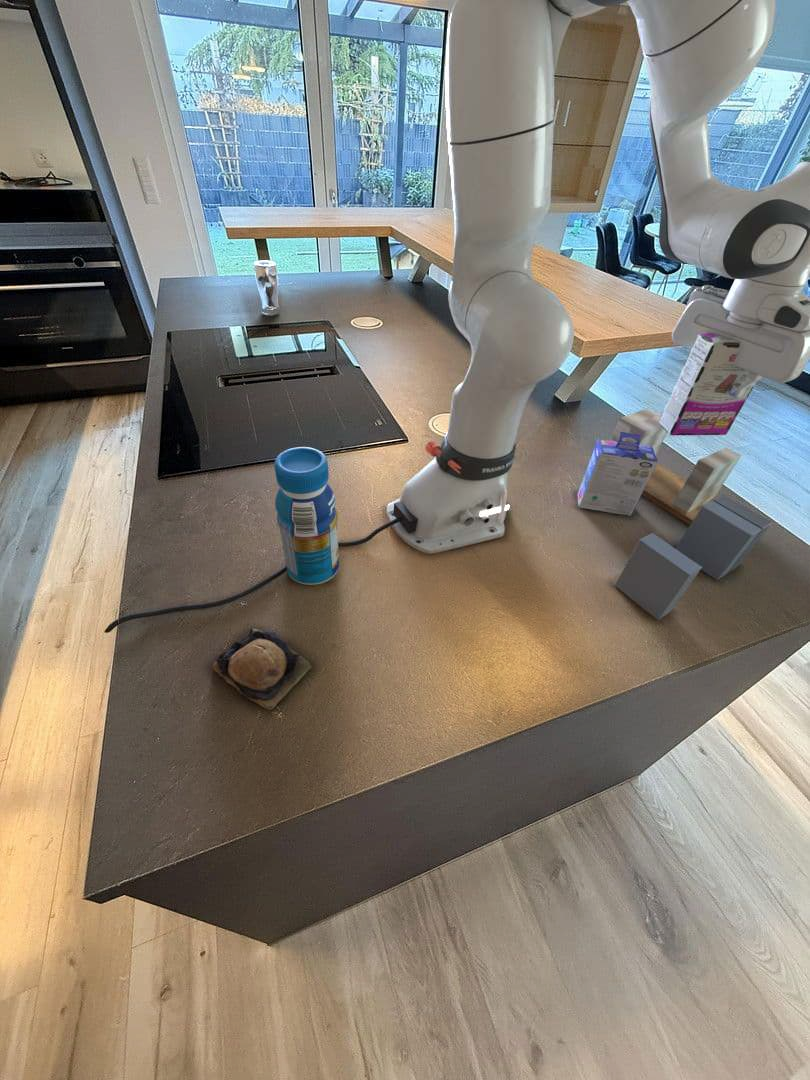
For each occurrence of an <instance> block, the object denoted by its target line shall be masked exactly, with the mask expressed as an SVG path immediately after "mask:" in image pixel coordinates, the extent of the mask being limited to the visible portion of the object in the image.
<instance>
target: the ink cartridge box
mask: <svg viewBox="0 0 810 1080" xmlns="http://www.w3.org/2000/svg"><path fill="white" fill-rule="evenodd" d="M627 437H631V438H633V439H635V440H636V443H630V442H624V441H622V438H627ZM640 440H641V435H638V434H631V433H625V432H620V435H619V438H618V441H617V442H613V441H611V440H606V439H605V440H604V439H597V440H596V442H595V446H594V448H593V451H592V455H591V457H590V460H589V462H588V466H587V468H586V471H585V474H584V476H583V479H582V482H581V484H580V487H579V490H578V491H577V503H578V505H577V506H578V508H579V509H585V510H592V511H599V512H604V513H609V514H617V515H622V516H627V517H628V516H629V517H630V516H632V514H633V513H634V509H635V508H636V506H637V503H638V502H639V499H640V497H641V496H642V492H643V490H644V487H645V485H646V483H647V482H648V480H649V478H650V476H651V474H652V472H653V470H654V468H655V466H656V464H658V458H657V454H656V455H655V452H654V450H653V448H652V447H651V446H643V445H640Z"/></svg>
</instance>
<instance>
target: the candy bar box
mask: <svg viewBox="0 0 810 1080" xmlns="http://www.w3.org/2000/svg"><path fill="white" fill-rule="evenodd" d="M741 347H742V343H740V342H737V341H735V340H732V339H729V338H726V337H723V336H720V335H716V334H703V333H699V334H698V336H697V338H696V341H695V343H694V345H693V347H692V349H690V352H689V354H688V356H687V358H686V361H685V363H684V364H683V367H682V370H681V372H680V374H679V377H678V378H677V380H676V383H675V384H674V387H673V389H672V392H671V394H670V396H669V398H668V400H667V402H666V405H665V406H664V409H663V411H662V413H661V414H660V415H661V418H660V420H659V422H658V423H659V424H660V426H661V427H662V428H664V429H665V430H666V431H667V434H668V435H669V436H726V435H727V434H728V432H729V430H730V429H731V427H732V426H733V424H734V422H735V420H736V419H737V417H738V415H739V413H740V412H741V410H742V408H743V407H744V405H745V402H747V399H748V398H749V396H750V394H751V392H752V391H753V389H754V388H755V386H756V384H757V382H758V381H756V382H755V383H753V384H752V385H750V386H749V387H747V388H746V390H745V392H744V393H743V395H742V396H741V397H739V398H735V397H733V396H731V395H729V392H730V391H731V388H732V387H733V385H735V384H738V383H740V384H743V383H745V382H746V381H747V380H749V379H748V378H746V376H747V375H748V373H749V371H747V370H744V369H741V368H739V367H736V366H734V365H733V363H734V360H735V359H736V357H737V355H738V353H739V351H740V349H741Z"/></svg>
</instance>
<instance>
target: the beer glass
mask: <svg viewBox="0 0 810 1080" xmlns="http://www.w3.org/2000/svg"><path fill="white" fill-rule="evenodd" d="M253 265H254V276H255V282H256V287H257V291H258V293H259V296H260V300H261V309H262V308H263V309H266V310H273V309H277V308H278V307H279V308H280V306H279V305H280V304H279V299H278V298H279V277H278V270H277V267H276V263H275V262H274V261H272V260H271V261H270V260H258V261H255V262H253ZM261 314H262V315H264V316H266V317H274V316H273V315H272V314H270V313H268V314H267V313H264V312H262V311H261ZM269 314H270V315H269Z"/></svg>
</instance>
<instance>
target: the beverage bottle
mask: <svg viewBox="0 0 810 1080" xmlns="http://www.w3.org/2000/svg"><path fill="white" fill-rule="evenodd" d="M274 473H275V477H276V482H277V485H278V487H279V488H278V490H277V492H276V496H275V499H274V505H275V510H276V512H277V513H276V524H277V527H278V529H279V533H280V537H281V543H282V548H283V553H284V554H283V555H284V558H285V566H286V568H287V571H286V572H287V574H288V575H289V577H290V578H291V579H292V580H293V581H294V582H296V583H298V584H301V585H305V586H317V585H321V584H325V583H327V582H328V581H330V580H331V579H333V577H335V575H336V574H337V573H338V571H339V568H340V556H339V554H340V553H339V547H338V542H339V538H338V537H339V535H338V533H339V532H338V518H339V515H338V509H337V507H336V504H337V498H336V495H335V493H334V491H333V489H332V487H331V486H330V485H329V483H328V482H329V477H330V475H329V463H328V459H327V457H326V455H325V453H323V452H322V451H320V450H319V449H316V448H313V447H307V446H299V447H293V448H289V449H286V450H284V451H282V452H281V453H279V454H278V455H277V456H276V458H275V460H274Z"/></svg>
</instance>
